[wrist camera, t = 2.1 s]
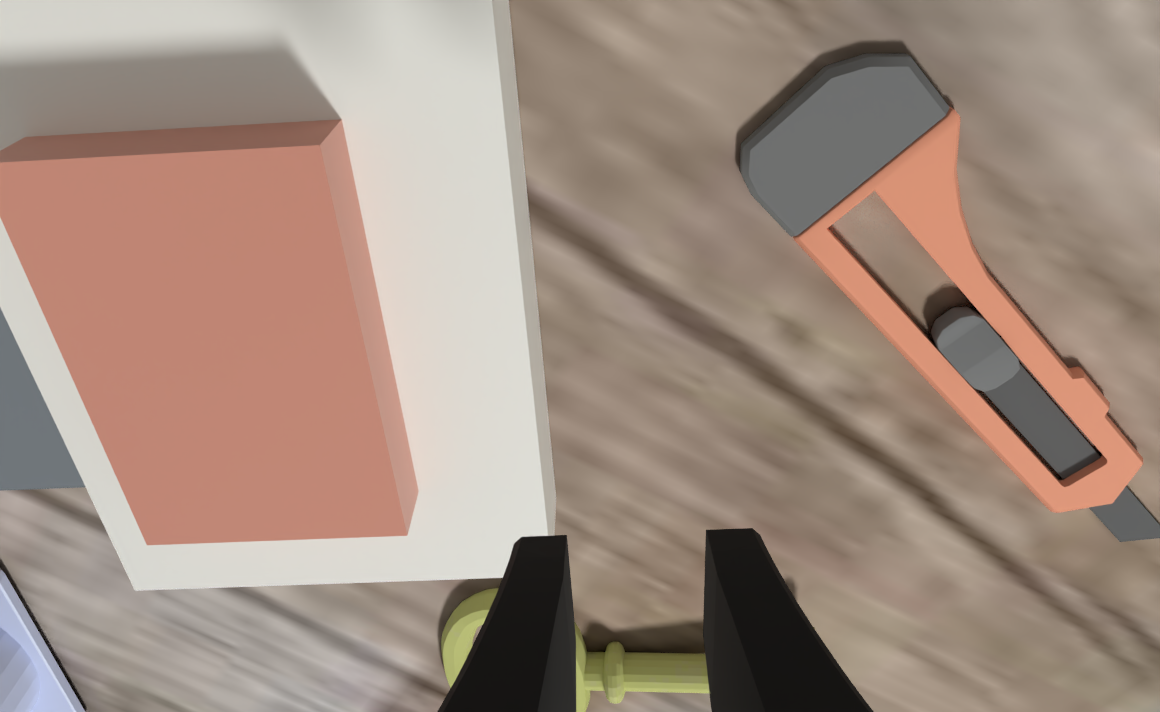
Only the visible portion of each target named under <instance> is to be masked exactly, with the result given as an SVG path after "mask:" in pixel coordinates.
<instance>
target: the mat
mask: <svg viewBox="0 0 1160 712" xmlns="http://www.w3.org/2000/svg"><path fill="white" fill-rule="evenodd" d="M75 487H85V485H84V482H83V480H82V478H81V476H80V474H79V472H78V470H77V468H76V466H75V464H74V461H73V459H72V457H71V455H70V453H69V451H68V449H67V447H66V445H65V442H64V440H63V438H62V436H61V434H60V432H59V430H58V428H57V426H56V424H55V421H54V419H53V417H52V415H51V413H50V411H49V409H48V407H47V405H46V403H45V400H44V398H43V396H42V394H41V392H40V390H39V388H38V386H37V384H36V382H35V379H34V377H33V375H32V373H31V371H30V369H29V367H28V365H27V363H26V360H25V358H24V356H23V354H22V352H21V350H20V348H19V346H18V344H17V342H16V339H15V337H14V335H13V333H12V331H11V329H10V327H9V325H8V323H7V321H6V318H5V316H4V314H3V312H2V310H1V308H0V490H24V489H49V488H75Z"/></svg>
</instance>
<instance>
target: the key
mask: <svg viewBox="0 0 1160 712" xmlns="http://www.w3.org/2000/svg"><path fill="white" fill-rule="evenodd" d="M498 589H499V588H495V589H487V590H484V591H482V592H479V593H476V594H474V595H472V596H471V597H469V598H467V599H466V600H464V601H463V602H461V604H460V605H459V606H458V607H457V608H456V609H455V610H454V611H453V613H452V614H451V616H450V618H449V619H448V621H447V623H446V625H445V628H444V631H443V633H442V639H441V651H442V659H443V664H444V669H445V673H446V677H447V680H448V682H449V685H450V688H451V687H452V685H453V684H454V682H455V680H456V678H457V676H458V674H459V672H460V670H461V668H462V667H463V664H464V662H465V660H466V658H467V656H468V654H469V652H470V650H471V648H472V641H473V637H474V634H475V631H476V629H477V627H479V626H480V625H482V624H483V623H484V621H485V619H486V617H487V614H488V612H489V610H490V607H491V605H492V603H493V601H494V598H495V596H496V594H497V591H498ZM813 628H814V627H813ZM814 629H815V628H814ZM575 634H576V712H586V709H587V706H588V703H589V700H590V690H599V691H605V693H606V697H607V699H608V700H609V702H611V703H615V704H616V703H620V702H621V701H622V699H623V697H624V694H625V691H640V692H681V693H710V692H709V683H708V675H707V665H706V656H705V654H685V653H630V652H625V650H624V648H623V645H622V644H620V643H619V642H610V643H609V644H608V645H607V648H606V651H605V652H587V650H586V646H585V643H584V640H583V637H582V635H581V632H580V630H579V628H578V626H577V625H576V623H575Z"/></svg>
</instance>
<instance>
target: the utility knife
mask: <svg viewBox="0 0 1160 712" xmlns="http://www.w3.org/2000/svg"><path fill="white" fill-rule="evenodd" d="M959 130H960V116H959V115H958V114H957V112H956V111H955V110H954V109H953V108H951V107H949V106H948V105H947V103H946V102H945V101H944V99H943V98H942V97H941V96H940V94H939V93H938V92H937V90H936V89H935V88H934V86H933V85H932V84H931V83H930V81H929V80H928V79H927V77H926V76H925V75H924V73H923V72H922V71H921V69H920V68H919V67H918V66H917V64H916V63H915V62H914V60H913V59H912V58H911V57H910V56H909V55H908V54H906V53H905V54H863V55H860V56H856V57H853V58H850V59H846V60H843V61H840V62H836V63H833V64H830V65H827V66H825V67H823V68H822V69H821V70H820V71H819V72H818V73H817V74H816V75H815V76H814V77H813V78H812V79H810V80H809V81H808V82H807V83H806V84H805V85H804V86H803V87H802V88H801V89H800V90H799V91H797V92H796V93H795V94H794V95H793V96H792V97H791V98H790V99H789V100H788V101H787V102H786V103H784V104H783V105H782V106H781V107H780V108H779V109H778V110H777V111H776V112H775V113H774V114H773V115H771V116H770V117H769V118H768V119H767V120H766V121H765V122H764V123H763V124H762V125H761V126H760V127H759V128H757V129H756V130H755V131H754V132H753V133H752V134H751V135H750V136H749V137H748V138H747V139H746V140H744V141H743V142H742V143H741V154H740V172H741V174H742V176H743V178H744V181H745V183H746V185H747V187H748V189H749V191H750V193H751V195H752V196H753V197H754V198H755V199H756V200H757V201H758V202H759V203H760V204H761V206H762V207H763V208H764V209H765V210H766V211H767V212H768V213H769V214H770V215H771V216H772V217H773V218H774V219H775V220H776V221H777V222H778V223H779V224H780V226H781V227H782V228H783V229H784V230H785V231H786V232H787V233H788V234H789V235H790V236H791V237H792V236H793V238H794V240H795V241H796V242H797V243H798V244H799V246H800V247H801V248H802V249H803V250H804V251H805V252H806V253H807V254H808V255H809V256H810V257H811V258H812V259H813V260H814V261H815V262H816V264H817V265H818V266H819V267H820V268H821V269H822V270H823V271H824V272H825V273H826V274H827V275H828V276H829V277H830V278H831V279H832V280H833V282H834V283H835V284H836V285H837V286H838V287H839V288H840V289H841V290H842V291H843V292H844V293H845V294H846V295H847V296H848V297H849V298H850V300H851V301H852V302H853V303H854V304H855V305H856V306H857V307H858V308H859V309H860V310H861V311H862V312H863V313H864V314H865V315H866V316H867V318H868V319H869V320H870V321H871V322H872V323H873V324H874V325H875V326H876V327H877V328H878V329H879V330H880V331H881V332H882V333H883V334H884V336H885V337H886V338H887V339H888V340H889V341H890V342H891V343H892V344H893V345H894V346H895V347H896V348H897V349H898V350H899V351H900V352H901V354H902V355H903V356H904V357H905V358H906V359H907V360H908V361H909V362H910V363H911V364H912V365H913V366H914V367H915V368H916V369H917V370H918V372H919V373H920V374H921V375H922V376H923V377H924V378H925V379H926V380H927V381H928V382H929V383H930V384H931V385H932V386H933V387H934V388H935V390H936V391H937V392H938V393H939V394H940V395H941V396H942V397H943V398H944V399H945V400H946V401H947V402H948V403H949V404H950V405H951V406H952V408H953V409H954V410H955V411H956V412H957V413H958V414H959V415H960V416H961V417H962V418H963V419H964V420H965V421H966V422H967V423H968V424H969V426H970V427H971V428H972V429H973V430H974V431H975V432H976V433H977V434H978V435H979V436H980V437H981V438H982V439H983V440H984V441H985V442H986V444H987V445H988V446H989V447H990V448H991V449H992V450H993V451H994V452H995V453H996V454H997V455H998V456H999V457H1000V458H1001V459H1002V460H1003V461H1004V463H1005V464H1006V465H1007V466H1008V467H1009V468H1010V469H1011V470H1012V471H1013V472H1014V473H1015V474H1016V475H1017V476H1018V477H1019V478H1020V479H1021V481H1022V482H1023V483H1024V484H1025V485H1026V486H1027V487H1028V488H1029V489H1030V490H1031V491H1032V492H1033V493H1034V494H1035V495H1036V496H1037V497H1038V499H1039V500H1040V501H1041V502H1042V503H1043V504H1044V505H1045V506H1046V507H1047V508H1048V509H1049V510H1050V511H1052V512H1056V513H1059V512H1065V511H1071V510H1077V509H1083V508H1090V509H1091V510H1092V511H1093V513H1094V514H1095V515H1096V516H1097V517H1098V518H1099V519H1100V520H1101V521H1102V522H1103V524H1104V525H1105V526H1106V527H1107V528H1108V529H1109V530H1110V531H1111V532H1112V533H1113V535H1114V536H1115V537H1116V538H1117V539H1118V540H1119V541H1120V542H1123V541H1134V540H1144V539H1154V538H1160V525H1159V524H1158V523H1157V521H1156V520H1155V519H1154V518H1153V517H1152V516H1151V515H1150V513H1149V512H1148V511H1147V510H1146V509H1145V508H1144V506H1143V505H1142V504H1141V503H1140V502H1139V501H1138V500H1137V498H1136V497H1135V496H1134V495H1133V494H1132V493H1131V491H1130V490H1129V489H1128V488H1127V487H1126V485H1127V484H1128V483H1129V481H1130V480H1131V479H1132V478H1133V476H1134V475H1135V474H1136V472H1137V471H1138V470H1139V469H1140V467H1141V466H1142V465H1143V458H1142V456H1141V455H1140V454H1139V453H1138V452H1137V450H1136V449H1135V448H1134V447H1133V446H1132V444H1131V443H1130V442H1129V441H1128V440H1127V439H1126V437H1125V436H1124V435H1123V434H1122V433H1121V431H1120V430H1119V429H1118V428H1117V427H1116V425H1115V424H1114V423H1113V422H1112V421H1111V419H1110V418H1109V417H1108V416H1107V415H1106V413H1107V412H1108V410H1109V405H1110V403H1109V402H1108V400H1107V399H1106V398H1105V397H1104V396H1103V394H1102V393H1101V392H1100V391H1099V389H1098V388H1097V387H1096V386H1095V385H1094V383H1093V382H1092V381H1091V380H1090V379H1089V377H1088V376H1087V375H1086V374H1085V372H1084V371H1083V370H1082V369H1081V368H1080V367H1072V368H1067V367H1066V365H1065V364H1064V363H1063V362H1062V361H1061V359H1060V358H1059V357H1058V356H1057V355H1056V353H1055V352H1054V351H1053V350H1052V349H1051V347H1050V346H1049V345H1048V344H1047V343H1046V341H1045V340H1044V339H1043V338H1042V337H1041V335H1040V334H1039V333H1038V332H1037V331H1036V329H1035V328H1034V327H1033V326H1032V325H1031V323H1030V322H1029V321H1028V320H1027V319H1026V317H1025V316H1024V315H1023V314H1022V313H1021V311H1020V310H1019V309H1018V308H1017V307H1016V305H1015V304H1014V303H1013V302H1012V301H1011V299H1010V298H1009V297H1008V296H1007V295H1006V294H1005V292H1004V291H1003V290H1002V289H1001V288H1000V286H999V285H998V284H997V283H996V282H995V280H994V279H993V278H992V277H991V276H990V274H989V273H988V272H987V270H986V268H985V266H984V264H983V262H982V260H981V258H980V257H979V255H978V253H977V251H976V249H975V247H974V245H973V243H972V240H971V237H970V234H969V231H968V227H967V224H966V221H965V218H964V214H963V211H962V208H961V200H960V192H959V185H958V177H957V156H958V143H959ZM873 191H876V193H877V194H878V195H879V196H880V197H881V198H882V200H883V201H884V202H885V203H886V204H887V205H888V207H889V208H890V209H891V210H892V211H893V212H894V213H895V215H896V216H897V217H898V218H899V219H900V220H901V222H902V223H903V224H904V225H905V226H906V227H907V229H908V230H909V231H910V232H911V233H912V234H913V235H914V237H915V238H916V239H917V240H918V241H919V242H920V244H921V245H922V246H923V247H924V248H925V249H926V251H927V252H928V253H929V254H930V255H931V256H932V257H933V259H934V260H935V261H936V262H937V263H938V264H939V266H940V267H941V268H942V269H943V270H944V271H945V273H946V274H947V275H948V276H949V277H950V278H951V279H952V281H953V282H954V283H955V284H956V285H957V286H958V288H959V289H960V290H961V291H962V292H963V293H964V295H965V296H966V297H967V298H968V299H969V300H970V302H971V303H972V304H973V305H974V306H975V307H976V308H977V310H978V311H979V312H980V313H981V314H982V315H983V316H982V315H981V314H980V313H979V312H977V311H975V310H973V309H971V308H969V307H967V306H966V307H955V308H951V309H950V310H949V311H947V312H946V313H944V314H943V315H941V316H940V317H939V318H937V319H936V320H935V322H934V324H933V327H932V330H931V335H932V338H933V340H934V343H935V344H934V343H933V342H932V341H931V340H930V339H929V338H928V337H927V336H926V335H925V333H924V332H923V331H922V330H921V329H920V328H919V327H918V326H917V325H916V324H915V323H914V321H913V320H912V319H911V318H910V317H909V316H908V315H907V314H906V313H905V312H904V311H903V309H902V308H901V307H900V306H899V305H898V304H897V303H896V302H895V301H894V300H893V299H892V297H891V296H890V295H889V294H888V293H887V292H886V291H885V290H884V289H883V288H882V287H881V285H880V284H879V283H878V282H877V281H876V280H875V279H874V278H873V277H872V276H871V274H870V273H869V272H868V271H867V270H866V269H865V268H864V267H863V266H862V265H861V264H860V262H859V261H858V260H857V259H856V258H855V257H854V256H853V255H852V254H851V253H850V252H849V250H848V249H847V248H846V247H845V246H844V245H843V244H842V243H841V242H840V241H839V240H838V238H837V237H836V236H835V235H834V234H833V233H832V232H831V231H830V230H829V229H828V227H830V226H831V225H832V224H833V223H835V222H836V221H837V220H838V219H840V218H841V217H842V216H843V215H845V214H846V213H847V212H848V211H850V210H851V209H852V208H853V207H855V206H856V205H857V204H858V203H860V202H861V201H862V200H863V199H865V198H866V197H867V196H868V195H870V194H871V193H872V192H873ZM983 317H984V318H985V319H986V320H987V321H988V322H989V323H988V322H987V321H986V320H985V319H984V318H983ZM989 324H990V325H991V326H992V327H993V328H994V329H995V330H996V332H997V333H998V334H999V335H1000V336H1001V337H1002V338H1001V337H1000V336H999V335H998V334H997V333H996V332H995V330H994V329H993V328H992V327H991V326H990V325H989ZM1002 339H1003V340H1004V341H1005V342H1006V343H1007V344H1008V345H1007V344H1006V343H1005V342H1004V341H1003V340H1002ZM936 346H937V347H936ZM1008 346H1009V347H1010V348H1011V349H1012V350H1013V351H1014V352H1015V354H1016V355H1017V356H1018V357H1019V358H1020V359H1021V361H1022V362H1023V363H1024V364H1025V365H1026V366H1027V368H1028V369H1029V370H1030V371H1031V372H1032V373H1033V374H1034V376H1035V377H1036V378H1037V379H1038V380H1039V381H1040V383H1041V384H1042V385H1043V386H1044V387H1045V388H1046V390H1047V391H1048V392H1049V393H1050V394H1051V395H1052V396H1053V398H1054V399H1055V400H1056V401H1057V402H1058V403H1059V405H1060V406H1061V407H1062V408H1063V409H1064V410H1065V412H1066V413H1067V414H1068V415H1069V416H1070V417H1071V419H1072V420H1073V421H1074V422H1075V423H1076V424H1077V425H1078V427H1079V428H1080V429H1081V430H1082V431H1083V432H1084V434H1085V435H1086V436H1087V437H1088V438H1089V439H1090V441H1091V442H1092V443H1093V444H1094V445H1095V446H1096V447H1097V449H1098V450H1099V451H1100V452H1101V453H1102V457H1100V456H1099V455H1098V453H1097V452H1096V451H1095V450H1094V449H1093V448H1092V446H1091V445H1090V444H1089V443H1088V442H1087V441H1086V440H1085V438H1084V437H1083V436H1082V435H1081V434H1080V433H1079V431H1078V430H1077V429H1076V428H1075V427H1074V426H1073V425H1072V423H1071V422H1070V421H1069V420H1068V419H1067V418H1066V416H1065V415H1064V414H1063V413H1062V412H1061V411H1060V410H1059V408H1058V407H1057V406H1056V405H1055V404H1054V403H1053V401H1052V400H1051V399H1050V398H1049V397H1048V396H1047V395H1046V393H1045V392H1044V391H1043V390H1042V389H1041V388H1040V386H1039V385H1038V384H1037V383H1036V382H1035V381H1034V379H1033V378H1032V377H1031V376H1030V375H1029V374H1028V373H1027V371H1026V370H1025V369H1024V368H1023V367H1022V366H1021V364H1020V363H1019V359H1018V357H1017V356H1016V355H1015V354H1014V352H1013V351H1012V350H1011V349H1010V348H1009V347H1008ZM976 389H978V390H980V391H983V392H984V393H985V394H986V395H987V396H988V397H989V398H990V400H991V401H992V402H993V403H994V404H995V405H996V406H997V407H998V408H999V409H1000V410H1001V412H1002V413H1003V414H1004V415H1005V416H1006V417H1007V418H1008V419H1009V420H1010V421H1011V423H1012V424H1013V425H1014V426H1015V427H1016V428H1017V429H1018V430H1019V431H1020V432H1021V434H1022V435H1023V436H1024V437H1025V438H1026V439H1027V440H1028V441H1029V442H1030V443H1031V445H1032V446H1033V447H1034V448H1035V449H1036V450H1037V451H1038V452H1039V453H1040V454H1041V456H1042V457H1043V458H1044V459H1045V460H1046V461H1047V462H1048V463H1049V464H1050V465H1051V466H1052V468H1053V469H1054V470H1055V471H1056V472H1057V473H1058V474H1059V475H1060V476H1061V477H1062V479H1063V480H1058V479H1057V478H1056V477H1055V475H1054V474H1053V473H1052V472H1051V471H1050V470H1049V469H1048V468H1047V467H1046V466H1045V465H1044V463H1043V462H1042V461H1041V460H1040V459H1039V458H1038V457H1037V456H1036V455H1035V454H1034V453H1033V451H1032V450H1031V449H1030V448H1029V447H1028V446H1027V445H1026V444H1025V443H1024V442H1023V441H1022V439H1021V438H1020V437H1019V436H1018V435H1017V434H1016V433H1015V432H1014V431H1013V430H1012V429H1011V427H1010V426H1009V425H1008V424H1007V423H1006V422H1005V421H1004V420H1003V419H1002V418H1001V417H1000V415H999V414H998V413H997V412H996V411H995V410H994V409H993V408H992V407H991V406H990V404H989V403H988V402H987V401H986V400H985V399H984V398H983V397H982V396H981V395H980V394H979V392H978V391H977V390H976Z"/></svg>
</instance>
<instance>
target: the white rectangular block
mask: <svg viewBox="0 0 1160 712" xmlns="http://www.w3.org/2000/svg"><path fill="white" fill-rule="evenodd" d="M338 119H342V123H343V128H344V133H345V137H346V142H347V147H348V152H349V157H350V162H351V166H352V171H353V176H354V181H355V186H356V191H357V195H358V200H359V205H360V210H361V215H362V220H363V224H364V229H365V234H366V239H367V244H368V249H369V254H370V258H371V263H372V268H373V273H374V278H375V283H376V287H377V292H378V297H379V302H380V307H381V312H382V316H383V321H384V326H385V331H386V336H387V341H388V345H389V350H390V355H391V360H392V365H393V370H394V375H395V379H396V384H397V389H398V394H399V399H400V404H401V408H402V413H403V418H404V423H405V428H406V433H407V437H408V442H409V447H410V452H411V457H412V462H413V466H414V471H415V476H416V481H417V486H418V491H419V492H418V496H417V500H416V504H415V508H414V512H413V516H412V520H411V524H410V528H409V531H408V535H407V536H388V537H361V538H334V539H306V540H279V541H252V542H225V543H198V544H171V545H147V544H146V542H145V540H144V538H143V536H142V533H141V531H140V529H139V527H138V524H137V522H136V520H135V518H134V515H133V513H132V511H131V509H130V506H129V504H128V502H127V500H126V497H125V495H124V493H123V491H122V489H121V486H120V484H119V482H118V480H117V477H116V475H115V473H114V471H113V468H112V466H111V464H110V462H109V459H108V457H107V455H106V453H105V451H104V448H103V446H102V444H101V442H100V439H99V437H98V435H97V433H96V430H95V428H94V426H93V424H92V421H91V419H90V417H89V415H88V413H87V410H86V408H85V406H84V404H83V401H82V399H81V397H80V395H79V392H78V390H77V388H76V386H75V383H74V381H73V379H72V377H71V374H70V372H69V370H68V368H67V366H66V363H65V361H64V359H63V357H62V354H61V352H60V350H59V348H58V345H57V343H56V341H55V339H54V336H53V334H52V332H51V330H50V328H49V325H48V323H47V321H46V319H45V316H44V314H43V312H42V310H41V307H40V305H39V303H38V301H37V298H36V296H35V294H34V292H33V290H32V287H31V285H30V283H29V281H28V278H27V276H26V274H25V272H24V269H23V267H22V265H21V263H20V260H19V258H18V256H17V254H16V251H15V249H14V247H13V245H12V243H11V240H10V238H9V236H8V234H7V231H6V229H5V227H4V225H3V222H2V220H1V218H0V308H1V310H2V312H3V314H4V316H5V318H6V321H7V323H8V325H9V327H10V329H11V331H12V333H13V335H14V337H15V339H16V342H17V344H18V346H19V348H20V350H21V352H22V354H23V356H24V358H25V360H26V363H27V365H28V367H29V369H30V371H31V373H32V375H33V377H34V379H35V382H36V384H37V386H38V388H39V390H40V392H41V394H42V396H43V398H44V400H45V403H46V405H47V407H48V409H49V411H50V413H51V415H52V417H53V419H54V421H55V424H56V426H57V428H58V430H59V432H60V434H61V436H62V438H63V440H64V442H65V445H66V447H67V449H68V451H69V453H70V455H71V457H72V459H73V461H74V464H75V466H76V468H77V470H78V472H79V474H80V476H81V478H82V480H83V482H84V485H85V487H86V489H87V491H88V493H89V495H90V497H91V499H92V501H93V503H94V506H95V508H96V510H97V512H98V514H99V516H100V518H101V520H102V522H103V524H104V527H105V529H106V531H107V533H108V535H109V537H110V539H111V541H112V543H113V546H114V548H115V550H116V552H117V554H118V556H119V558H120V560H121V562H122V564H123V567H124V569H125V571H126V573H127V575H128V577H129V579H130V581H131V583H132V585H133V588H134V590H135V591H136V590H165V589H194V588H223V587H252V586H280V585H309V584H338V583H367V582H395V581H424V580H453V579H482V578H503V576H504V573H505V570H506V567H507V565H508V562H509V559H510V556H511V552H512V549H513V545H514V543H515V542H516V541H517V540H519V539H520V538H521V537H529V536H554V533H555V512H556V491H555V481H554V470H553V460H552V449H551V439H550V428H549V418H548V407H547V397H546V386H545V376H544V365H543V355H542V344H541V334H540V323H539V313H538V302H537V292H536V281H535V271H534V260H533V250H532V239H531V229H530V218H529V208H528V197H527V187H526V176H525V166H524V156H523V145H522V135H521V124H520V114H519V103H518V93H517V82H516V72H515V61H514V51H513V40H512V30H511V19H510V9H509V0H0V151H1V150H2V149H4V148H6V147H8V146H10V145H12V144H13V143H15V142H17V141H19V140H21V139H22V138H24V137H33V136H51V135H69V134H87V133H105V132H123V131H141V130H159V129H177V128H195V127H213V126H231V125H249V124H267V123H285V122H302V121H320V120H338Z"/></svg>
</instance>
